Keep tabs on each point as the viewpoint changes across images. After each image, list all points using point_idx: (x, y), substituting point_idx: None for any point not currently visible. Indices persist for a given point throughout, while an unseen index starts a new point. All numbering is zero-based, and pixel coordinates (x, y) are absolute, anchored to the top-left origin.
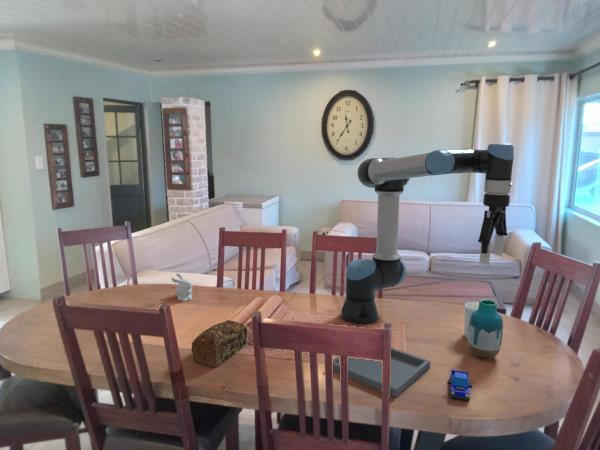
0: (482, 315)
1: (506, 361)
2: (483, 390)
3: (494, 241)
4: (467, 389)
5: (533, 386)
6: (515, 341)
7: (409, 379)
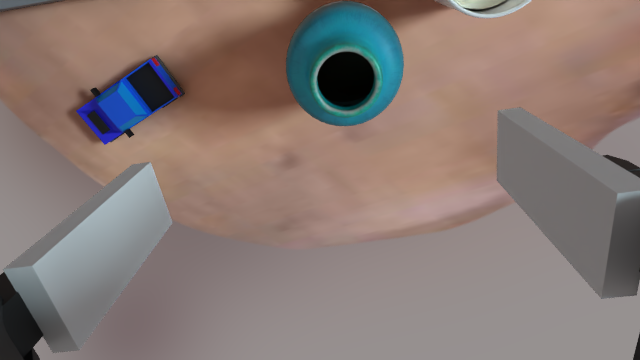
0: (302, 75)
1: None
2: (181, 136)
3: (564, 156)
4: (114, 133)
5: (288, 197)
6: (507, 71)
7: (18, 6)
